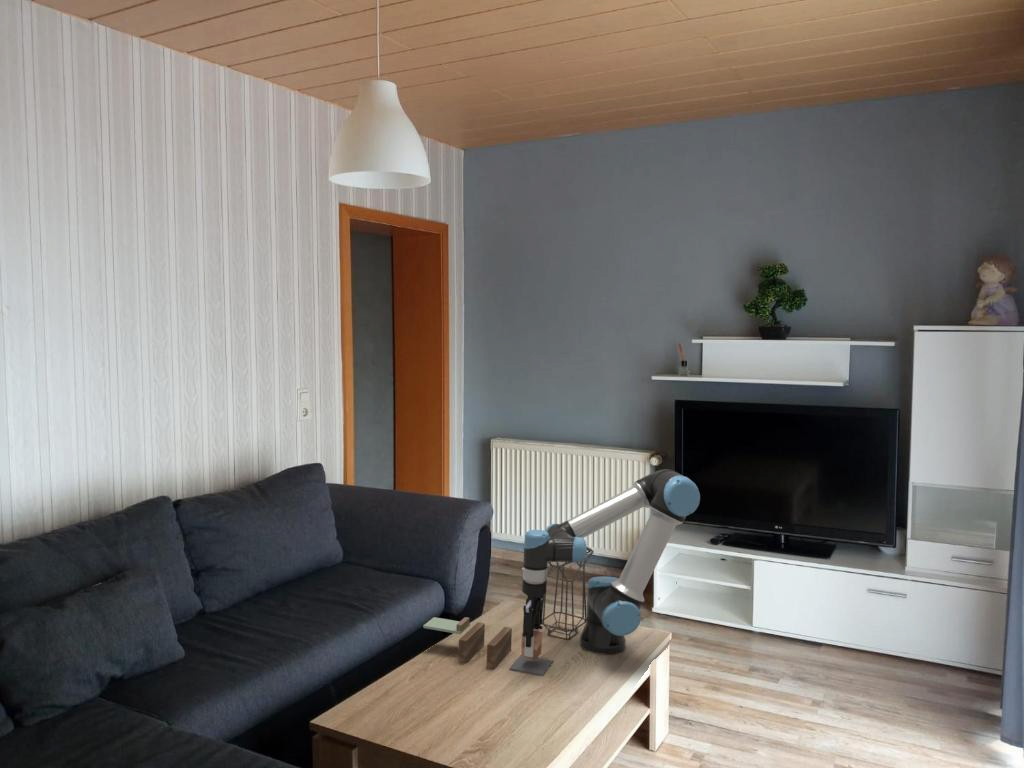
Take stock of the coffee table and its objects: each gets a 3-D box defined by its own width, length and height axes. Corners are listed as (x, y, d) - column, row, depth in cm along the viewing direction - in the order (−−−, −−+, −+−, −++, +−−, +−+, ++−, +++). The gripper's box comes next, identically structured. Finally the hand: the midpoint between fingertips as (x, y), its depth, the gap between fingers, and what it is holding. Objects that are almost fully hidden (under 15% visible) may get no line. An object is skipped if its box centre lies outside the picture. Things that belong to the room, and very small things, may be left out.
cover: (469, 625, 269) (470, 617, 269) (460, 634, 261) (460, 625, 261) (433, 619, 273) (434, 611, 273) (423, 627, 266) (423, 619, 265)
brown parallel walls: (511, 649, 269) (511, 627, 268) (493, 669, 254) (494, 646, 253) (477, 643, 273) (477, 622, 272) (458, 662, 258) (458, 639, 257)
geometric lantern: (592, 632, 286) (597, 535, 282) (571, 648, 273) (575, 546, 269) (553, 621, 295) (557, 526, 291) (530, 636, 281) (534, 537, 277)
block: (541, 653, 258) (542, 631, 258) (536, 659, 254) (537, 637, 253) (526, 650, 260) (527, 629, 260) (521, 656, 255) (522, 634, 255)
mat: (553, 662, 261) (553, 660, 261) (543, 676, 250) (543, 674, 250) (520, 656, 264) (520, 654, 264) (509, 670, 254) (509, 668, 254)
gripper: (532, 570, 265) (529, 640, 267) (513, 587, 248) (510, 661, 250) (554, 573, 262) (551, 644, 264) (537, 591, 245) (534, 666, 247)
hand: (531, 652), depth 257 cm, fingers closed on block, 5 cm apart
